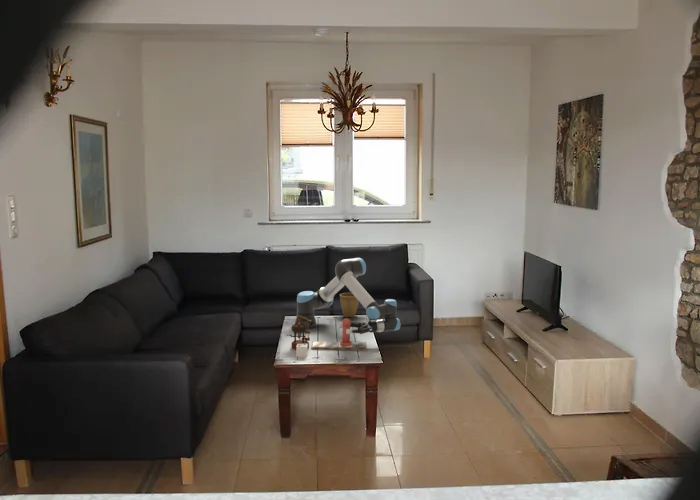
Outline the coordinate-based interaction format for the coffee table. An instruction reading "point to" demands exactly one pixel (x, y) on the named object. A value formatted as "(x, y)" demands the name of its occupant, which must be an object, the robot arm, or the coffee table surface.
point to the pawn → (345, 337)
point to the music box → (299, 329)
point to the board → (338, 346)
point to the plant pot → (349, 304)
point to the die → (301, 350)
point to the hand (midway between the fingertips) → (342, 328)
